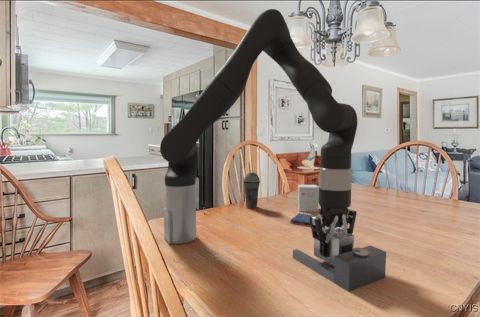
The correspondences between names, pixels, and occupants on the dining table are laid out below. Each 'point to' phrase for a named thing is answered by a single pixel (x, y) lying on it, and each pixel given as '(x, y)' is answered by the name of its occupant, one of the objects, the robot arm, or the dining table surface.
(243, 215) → the dining table surface
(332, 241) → the block
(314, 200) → the small box
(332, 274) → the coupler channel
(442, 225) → the dining table surface
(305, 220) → the woven mat
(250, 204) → the beverage cup
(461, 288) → the dining table surface
